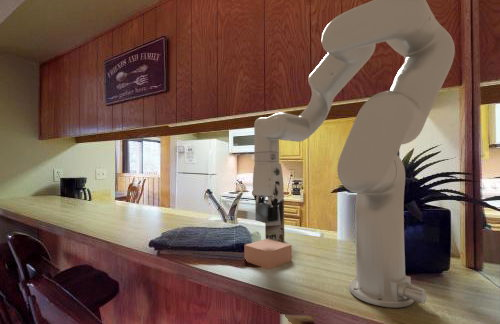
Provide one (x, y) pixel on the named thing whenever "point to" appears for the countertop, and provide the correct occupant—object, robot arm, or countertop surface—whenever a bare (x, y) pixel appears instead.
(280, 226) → the coffee box
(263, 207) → the slate cube
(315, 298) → the countertop surface
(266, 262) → the terracotta block
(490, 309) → the countertop surface
